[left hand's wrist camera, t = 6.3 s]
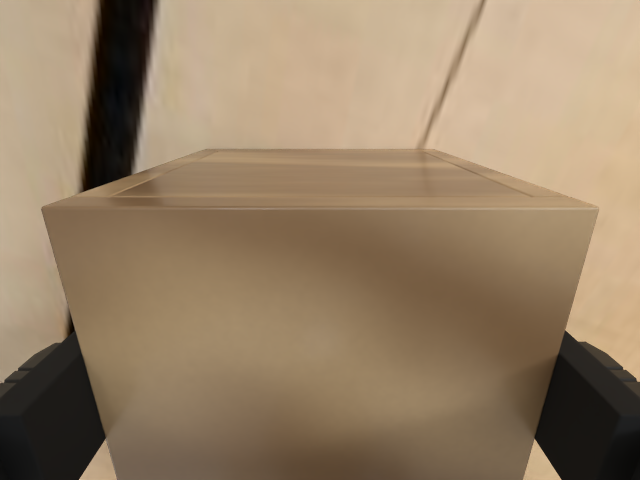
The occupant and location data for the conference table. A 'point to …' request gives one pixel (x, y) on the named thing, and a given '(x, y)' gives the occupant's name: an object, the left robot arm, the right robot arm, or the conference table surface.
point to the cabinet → (320, 313)
